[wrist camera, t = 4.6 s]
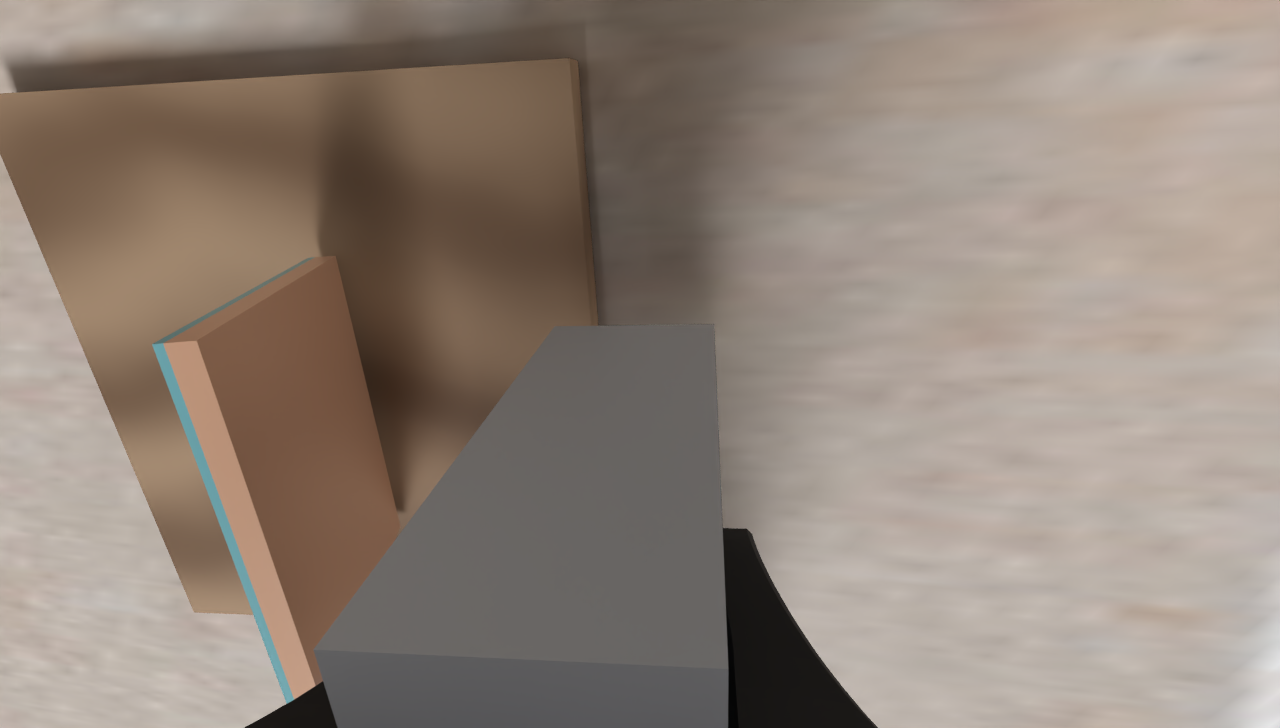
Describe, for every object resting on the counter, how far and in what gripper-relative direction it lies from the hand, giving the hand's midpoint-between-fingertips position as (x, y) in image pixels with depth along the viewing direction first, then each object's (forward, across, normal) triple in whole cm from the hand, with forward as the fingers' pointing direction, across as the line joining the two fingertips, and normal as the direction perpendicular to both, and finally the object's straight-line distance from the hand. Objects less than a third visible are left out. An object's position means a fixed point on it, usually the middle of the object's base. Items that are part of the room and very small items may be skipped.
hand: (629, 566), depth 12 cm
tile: (+4, +9, 0) cm, 10 cm away
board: (+9, +11, 0) cm, 14 cm away
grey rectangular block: (+3, 0, 0) cm, 3 cm away
